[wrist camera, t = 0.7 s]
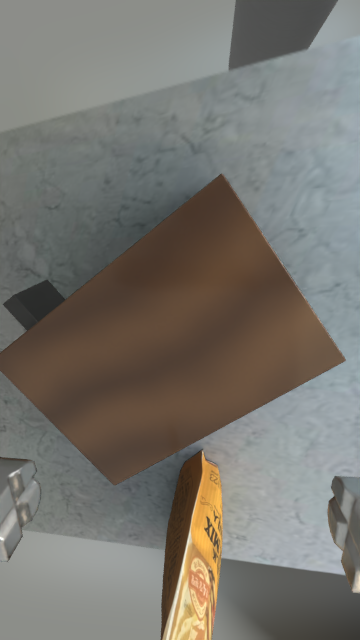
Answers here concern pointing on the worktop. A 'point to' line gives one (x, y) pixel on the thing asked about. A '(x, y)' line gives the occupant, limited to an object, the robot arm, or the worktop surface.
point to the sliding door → (34, 303)
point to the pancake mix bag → (193, 553)
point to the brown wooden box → (172, 339)
